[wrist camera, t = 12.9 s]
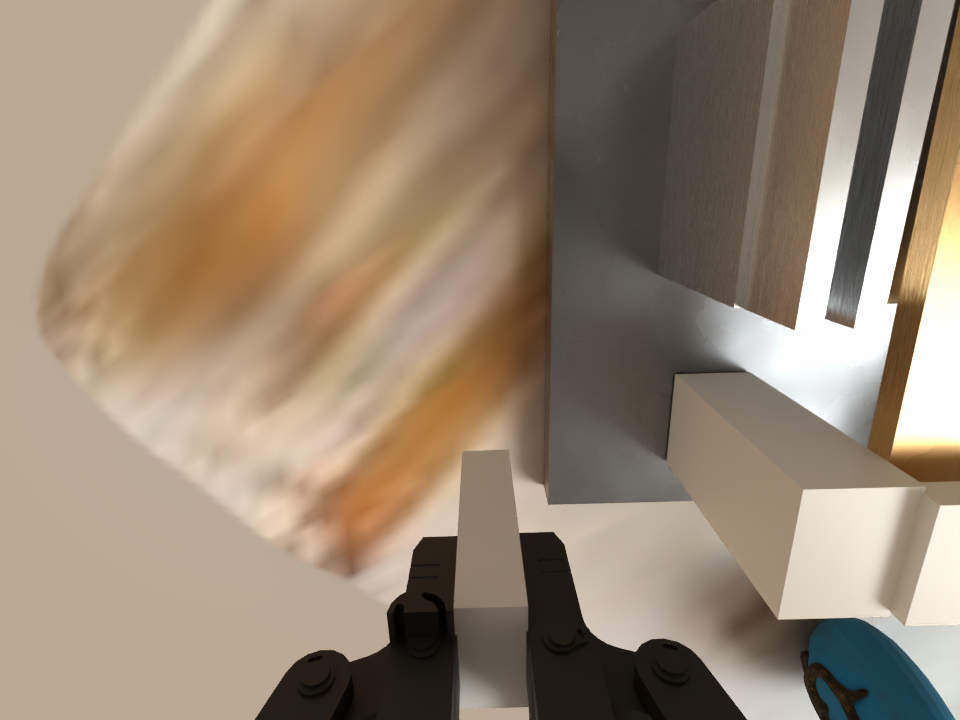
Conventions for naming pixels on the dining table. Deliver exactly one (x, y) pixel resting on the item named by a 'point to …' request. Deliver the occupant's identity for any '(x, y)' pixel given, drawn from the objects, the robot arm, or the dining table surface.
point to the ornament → (865, 676)
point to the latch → (813, 507)
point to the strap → (928, 316)
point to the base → (619, 286)
